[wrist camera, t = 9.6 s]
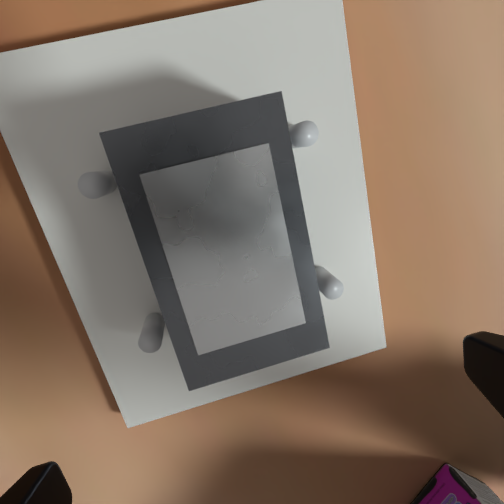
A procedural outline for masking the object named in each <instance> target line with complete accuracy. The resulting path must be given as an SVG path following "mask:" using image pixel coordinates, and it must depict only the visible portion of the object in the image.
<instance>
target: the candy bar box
mask: <svg viewBox="0 0 504 504" xmlns="http://www.w3.org/2000/svg"><path fill="white" fill-rule="evenodd" d="M411 504H504V503H503V502H502V501H501V500H500V499H499V498H498V496H497V495H496V494H495V493H494V492H493V491H492V490H491V489H490V488H489V487H488V486H487V485H486V484H485V483H483V482H482V481H480V480H478V479H477V478H474V477H472V476H469V475H467V474H465V473H463V472H462V471H460V470H458V469H457V468H455V467H453V466H451V465H449V464H445V465H443V466H442V467H441V468H440V470H439V471H438V472H437V473H436V475H435V476H434V477H433V478H432V479H431V480H430V482H429V483H428V484H427V485H426V486H425V488H424V489H423V490H422V491H421V493H420V494H419V495H418V496H417V498H416V499H415V500H414V501H413V502H412V503H411Z"/></svg>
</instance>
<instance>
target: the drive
mask: <svg viewBox="0 0 504 504" xmlns="http://www.w3.org/2000/svg"><path fill="white" fill-rule="evenodd" d="M99 135H100V138H101V140H102V143H103V146H104V149H105V152H106V155H107V158H108V161H109V163H110V166H111V169H112V172H113V175H114V178H115V181H116V184H117V186H118V189H119V192H120V195H121V198H122V201H123V204H124V206H125V209H126V212H127V215H128V218H129V221H130V224H131V227H132V229H133V232H134V235H135V238H136V241H137V244H138V247H139V250H140V252H141V255H142V258H143V261H144V264H145V267H146V270H147V272H148V275H149V278H150V281H151V284H152V287H153V290H154V293H155V295H156V298H157V301H158V304H159V307H160V310H161V313H162V316H163V318H164V321H165V324H166V327H167V330H168V333H169V336H170V339H171V341H172V344H173V347H174V350H175V353H176V356H177V359H178V361H179V364H180V367H181V370H182V373H183V376H184V379H185V382H186V384H187V387H188V390H189V391H192V390H195V389H198V388H201V387H205V386H208V385H211V384H214V383H218V382H221V381H224V380H227V379H231V378H234V377H237V376H240V375H244V374H247V373H250V372H253V371H256V370H260V369H263V368H266V367H269V366H273V365H276V364H279V363H282V362H286V361H289V360H292V359H295V358H298V357H302V356H305V355H308V354H311V353H315V352H318V351H321V350H324V349H328V348H330V346H329V341H328V335H327V330H326V325H325V319H324V314H323V309H322V303H321V298H320V293H319V287H318V282H317V277H316V271H315V266H314V261H313V255H312V250H311V245H310V239H309V234H308V229H307V223H306V218H305V213H304V207H303V202H302V197H301V191H300V186H299V181H298V176H297V170H296V165H295V160H294V154H293V149H292V144H291V138H290V133H289V128H288V122H287V117H286V112H285V106H284V101H283V96H282V91H279V92H274V93H270V94H266V95H261V96H257V97H253V98H248V99H244V100H240V101H235V102H231V103H227V104H222V105H218V106H214V107H209V108H205V109H200V110H196V111H192V112H187V113H183V114H179V115H174V116H170V117H166V118H161V119H157V120H153V121H148V122H144V123H139V124H135V125H131V126H126V127H122V128H118V129H113V130H109V131H105V132H100V133H99Z"/></svg>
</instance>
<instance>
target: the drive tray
mask: <svg viewBox="0 0 504 504" xmlns="http://www.w3.org/2000/svg"><path fill="white" fill-rule="evenodd" d="M279 91H282V96H283V101H284V106H285V112H286V117H287V122H288V128H289V133H290V138H291V144H292V149H293V154H294V160H295V165H296V170H297V176H298V181H299V186H300V191H301V197H302V202H303V207H304V213H305V218H306V223H307V229H308V234H309V239H310V245H311V250H312V255H313V261H314V266H315V271H316V277H317V282H318V287H319V293H320V298H321V303H322V309H323V314H324V319H325V325H326V330H327V335H328V341H329V346H330V348H328V349H324V350H321V351H318V352H315V353H311V354H308V355H305V356H302V357H298V358H295V359H292V360H289V361H286V362H282V363H279V364H276V365H273V366H269V367H266V368H263V369H260V370H256V371H253V372H250V373H247V374H244V375H240V376H237V377H234V378H231V379H227V380H224V381H221V382H218V383H214V384H211V385H208V386H205V387H201V388H198V389H195V390H192V391H189V390H188V387H187V384H186V382H185V379H184V376H183V373H182V370H181V367H180V364H179V361H178V359H177V356H176V353H175V350H174V347H173V344H172V341H171V339H170V336H169V333H168V330H167V327H166V324H165V321H164V318H163V316H162V313H161V310H160V307H159V304H158V301H157V298H156V295H155V293H154V290H153V287H152V284H151V281H150V278H149V275H148V272H147V270H146V267H145V264H144V261H143V258H142V255H141V252H140V250H139V247H138V244H137V241H136V238H135V235H134V232H133V229H132V227H131V224H130V221H129V218H128V215H127V212H126V209H125V206H124V204H123V201H122V198H121V195H120V192H119V189H118V186H117V184H116V181H115V178H114V175H113V172H112V169H111V166H110V163H109V161H108V158H107V155H106V152H105V149H104V146H103V143H102V140H101V138H100V135H99V133H100V132H105V131H109V130H113V129H118V128H122V127H126V126H131V125H135V124H139V123H144V122H148V121H153V120H157V119H161V118H166V117H170V116H174V115H179V114H183V113H187V112H192V111H196V110H200V109H205V108H209V107H214V106H218V105H222V104H227V103H231V102H235V101H240V100H244V99H248V98H253V97H257V96H261V95H266V94H270V93H274V92H279ZM0 131H1V134H2V136H3V138H4V141H5V143H6V145H7V148H8V150H9V152H10V155H11V157H12V159H13V162H14V164H15V166H16V169H17V171H18V173H19V176H20V178H21V180H22V183H23V185H24V187H25V190H26V192H27V194H28V197H29V199H30V201H31V204H32V206H33V208H34V211H35V213H36V215H37V218H38V220H39V222H40V225H41V227H42V229H43V232H44V234H45V236H46V239H47V241H48V243H49V246H50V248H51V250H52V253H53V255H54V257H55V260H56V262H57V264H58V267H59V269H60V271H61V274H62V276H63V278H64V281H65V283H66V285H67V288H68V290H69V292H70V295H71V297H72V299H73V302H74V304H75V306H76V309H77V311H78V313H79V316H80V318H81V320H82V323H83V325H84V327H85V330H86V332H87V334H88V337H89V339H90V341H91V344H92V346H93V348H94V351H95V353H96V355H97V358H98V360H99V362H100V365H101V367H102V369H103V372H104V374H105V376H106V379H107V381H108V383H109V386H110V388H111V390H112V393H113V395H114V397H115V400H116V402H117V404H118V407H119V409H120V411H121V414H122V416H123V418H124V421H125V423H126V425H127V428H130V427H133V426H136V425H140V424H143V423H146V422H149V421H152V420H156V419H159V418H162V417H165V416H168V415H172V414H175V413H178V412H181V411H184V410H188V409H191V408H194V407H197V406H200V405H204V404H207V403H210V402H213V401H216V400H220V399H223V398H226V397H229V396H232V395H236V394H239V393H242V392H245V391H248V390H252V389H255V388H258V387H261V386H264V385H268V384H271V383H274V382H277V381H280V380H284V379H287V378H290V377H293V376H296V375H300V374H303V373H306V372H309V371H312V370H316V369H319V368H322V367H325V366H328V365H332V364H335V363H338V362H341V361H344V360H348V359H351V358H354V357H357V356H360V355H364V354H367V353H370V352H373V351H376V350H380V349H383V348H386V339H385V332H384V324H383V316H382V308H381V300H380V292H379V285H378V277H377V269H376V261H375V253H374V245H373V237H372V230H371V222H370V214H369V206H368V198H367V190H366V182H365V175H364V167H363V159H362V151H361V143H360V135H359V128H358V120H357V112H356V104H355V96H354V88H353V80H352V73H351V65H350V57H349V49H348V41H347V33H346V25H345V18H344V10H343V2H342V0H262V1H257V2H252V3H247V4H242V5H237V6H232V7H227V8H222V9H217V10H212V11H207V12H202V13H197V14H192V15H187V16H182V17H177V18H172V19H167V20H162V21H157V22H152V23H147V24H142V25H137V26H132V27H127V28H122V29H117V30H112V31H107V32H102V33H97V34H92V35H87V36H82V37H77V38H72V39H67V40H62V41H57V42H52V43H47V44H42V45H37V46H32V47H27V48H22V49H17V50H12V51H7V52H2V53H0Z"/></svg>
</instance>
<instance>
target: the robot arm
mask: <svg viewBox="0 0 504 504" xmlns="http://www.w3.org/2000/svg"><path fill="white" fill-rule="evenodd" d="M463 356H464V368H465V372H466V374H467V375H468V377H469V378H470V380H471V381H472V382H473V383H474V384H475V385H476V387H477V388H478V389H479V390H480V391H481V392H482V394H483V395H484V396H485V397H486V398H487V399H488V401H489V402H490V403H491V404H492V405H493V406H494V408H495V409H496V410H497V411H498V412H499V413H500V415H501V416H502V417H503V418H504V336H503V335H498V334H494V333H489V332H484V331H481V332H477V333H473V334H470V335H467V336H466V337H465V338H464V340H463ZM0 504H72V493H71V489H70V487H69V485H68V483H67V481H66V479H65V477H64V475H63V473H62V471H61V469H60V467H59V466H58V464H57V463H56V462H52V461H51V462H47V463H44V464H40V465H37V466H34V467H32V468H31V469H29V470H28V471H27V472H26V473H25V474H24V475H23V476H22V477H21V478H20V479H19V480H18V481H17V482H16V483H15V484H14V485H13V486H12V487H11V488H9V489H8V490H7V491H6V492H5V493H4V494H3V495H2V496H1V497H0Z"/></svg>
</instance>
